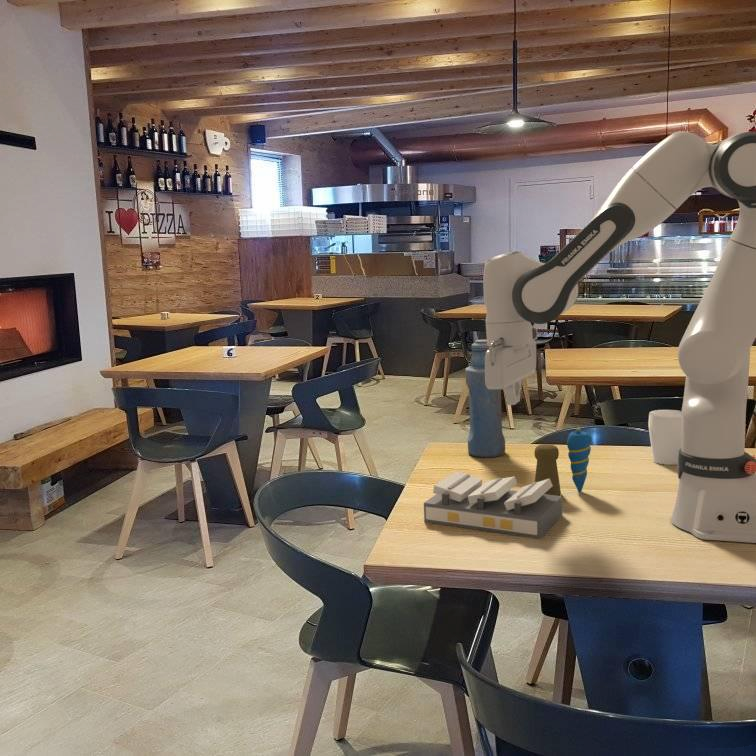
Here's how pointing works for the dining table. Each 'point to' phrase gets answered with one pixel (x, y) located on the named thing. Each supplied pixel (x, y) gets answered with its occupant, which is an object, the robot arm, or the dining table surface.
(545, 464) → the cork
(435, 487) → the grooved switch paddle
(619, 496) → the dining table surface
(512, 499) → the panel
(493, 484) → the rocker
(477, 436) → the bottle
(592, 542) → the dining table surface
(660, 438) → the cup
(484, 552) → the dining table surface
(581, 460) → the ornament
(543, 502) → the switch unit
